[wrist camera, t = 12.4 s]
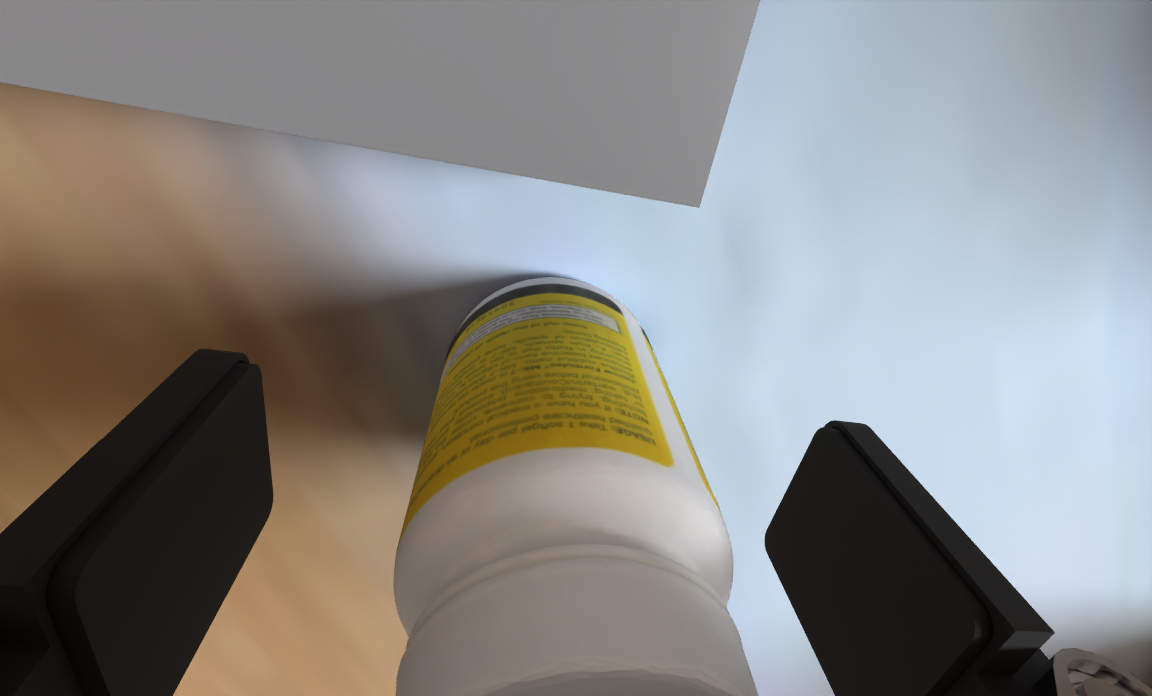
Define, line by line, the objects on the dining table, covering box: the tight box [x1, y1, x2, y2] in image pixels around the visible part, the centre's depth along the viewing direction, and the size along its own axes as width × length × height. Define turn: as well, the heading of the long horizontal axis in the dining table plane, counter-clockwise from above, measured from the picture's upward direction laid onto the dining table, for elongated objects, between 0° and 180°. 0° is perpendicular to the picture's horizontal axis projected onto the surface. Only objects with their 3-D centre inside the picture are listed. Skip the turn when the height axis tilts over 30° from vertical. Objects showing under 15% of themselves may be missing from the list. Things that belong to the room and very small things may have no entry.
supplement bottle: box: [394, 277, 758, 696], centre depth 9 cm, size 5×5×8 cm
